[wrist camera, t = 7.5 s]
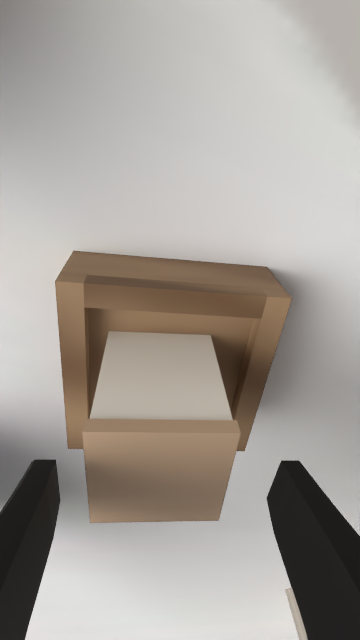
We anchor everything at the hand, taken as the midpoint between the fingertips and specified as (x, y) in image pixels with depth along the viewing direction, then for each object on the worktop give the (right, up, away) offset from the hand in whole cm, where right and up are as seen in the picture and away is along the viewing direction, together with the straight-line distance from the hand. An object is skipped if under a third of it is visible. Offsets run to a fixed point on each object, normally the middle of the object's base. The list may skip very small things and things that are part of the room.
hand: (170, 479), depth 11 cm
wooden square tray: (0, +4, +7) cm, 9 cm away
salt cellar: (-1, +3, +5) cm, 6 cm away
